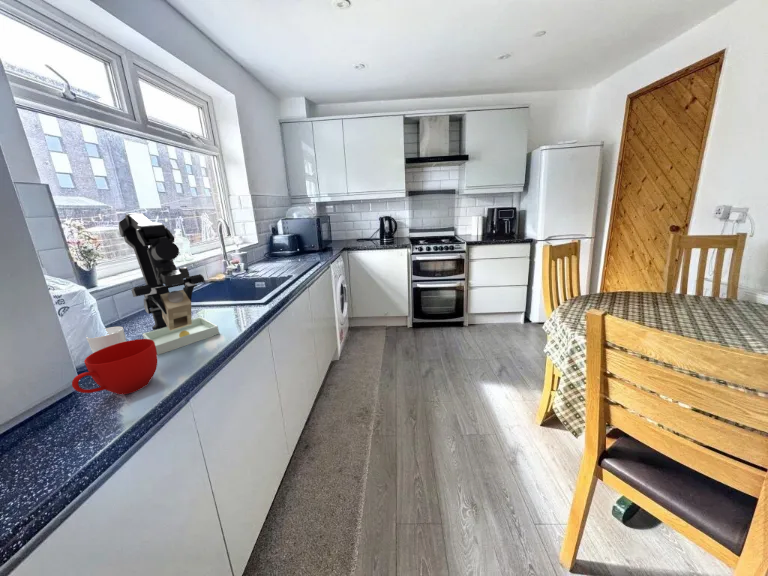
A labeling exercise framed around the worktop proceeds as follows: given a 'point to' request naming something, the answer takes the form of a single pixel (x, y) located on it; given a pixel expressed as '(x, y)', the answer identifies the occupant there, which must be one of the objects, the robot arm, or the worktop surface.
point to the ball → (183, 333)
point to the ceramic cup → (121, 367)
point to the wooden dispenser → (176, 309)
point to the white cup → (107, 339)
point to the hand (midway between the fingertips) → (178, 310)
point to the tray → (171, 339)
